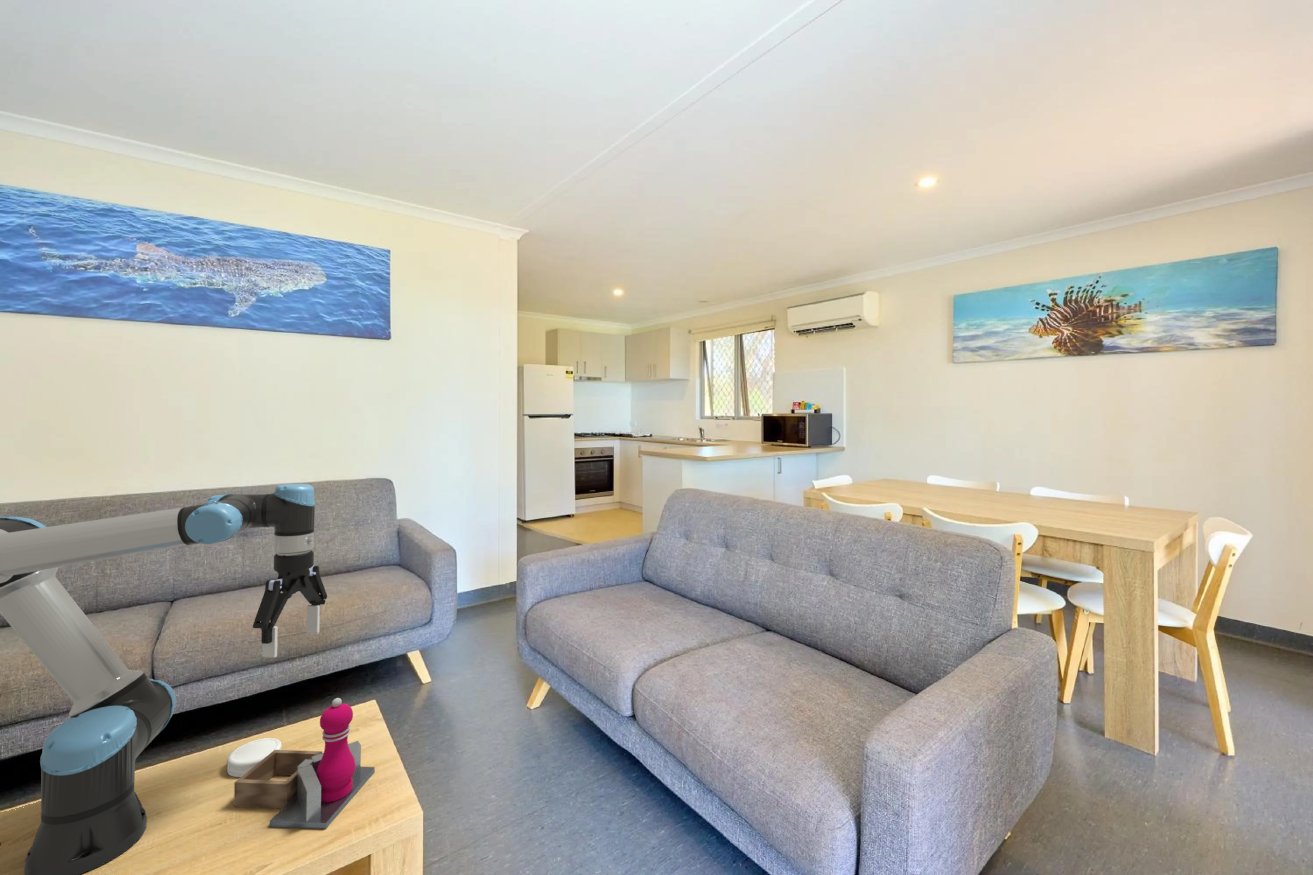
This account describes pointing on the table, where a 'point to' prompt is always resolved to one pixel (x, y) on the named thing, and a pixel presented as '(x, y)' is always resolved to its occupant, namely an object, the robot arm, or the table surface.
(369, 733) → the table surface
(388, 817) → the table surface
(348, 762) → the pepper mill
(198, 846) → the table surface
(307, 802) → the v block
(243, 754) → the coaster
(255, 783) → the wooden square frame
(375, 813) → the table surface
